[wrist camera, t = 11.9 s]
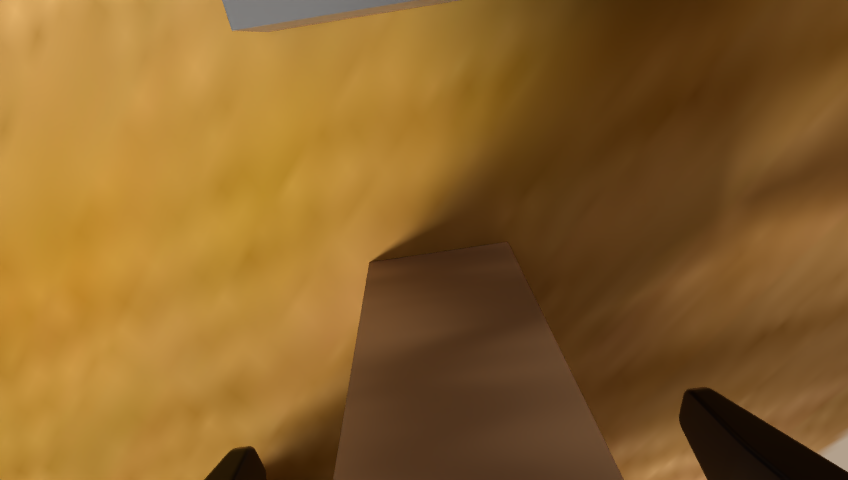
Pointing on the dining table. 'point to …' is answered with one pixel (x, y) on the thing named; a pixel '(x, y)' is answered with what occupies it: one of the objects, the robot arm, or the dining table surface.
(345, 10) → the grey stepped square base
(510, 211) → the dining table surface
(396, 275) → the beige rectangular prism
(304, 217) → the dining table surface
